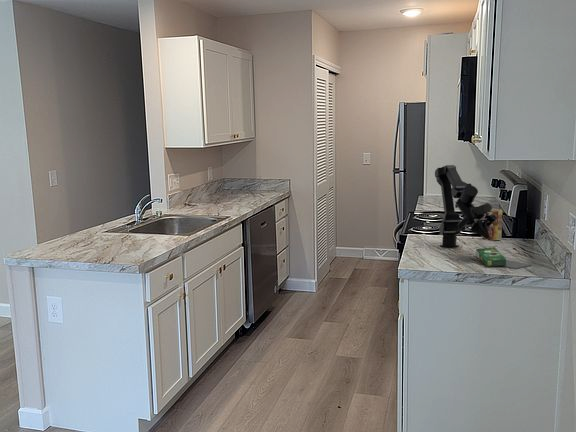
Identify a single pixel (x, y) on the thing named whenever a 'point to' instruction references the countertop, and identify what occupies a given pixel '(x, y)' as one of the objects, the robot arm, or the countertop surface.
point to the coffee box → (491, 257)
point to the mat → (515, 264)
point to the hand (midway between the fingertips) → (488, 238)
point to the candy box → (495, 225)
